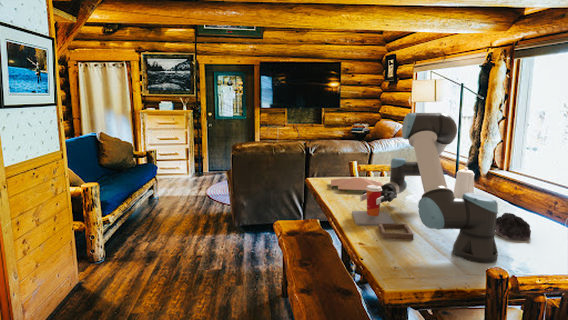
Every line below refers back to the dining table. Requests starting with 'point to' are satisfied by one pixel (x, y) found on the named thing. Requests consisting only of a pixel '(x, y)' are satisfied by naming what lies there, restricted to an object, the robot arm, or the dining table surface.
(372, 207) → the paper cup
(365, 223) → the slate tile
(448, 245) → the dining table surface
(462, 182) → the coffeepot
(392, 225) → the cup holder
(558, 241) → the dining table surface
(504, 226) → the dark brown lumpy mound
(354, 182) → the house
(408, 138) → the robot arm
